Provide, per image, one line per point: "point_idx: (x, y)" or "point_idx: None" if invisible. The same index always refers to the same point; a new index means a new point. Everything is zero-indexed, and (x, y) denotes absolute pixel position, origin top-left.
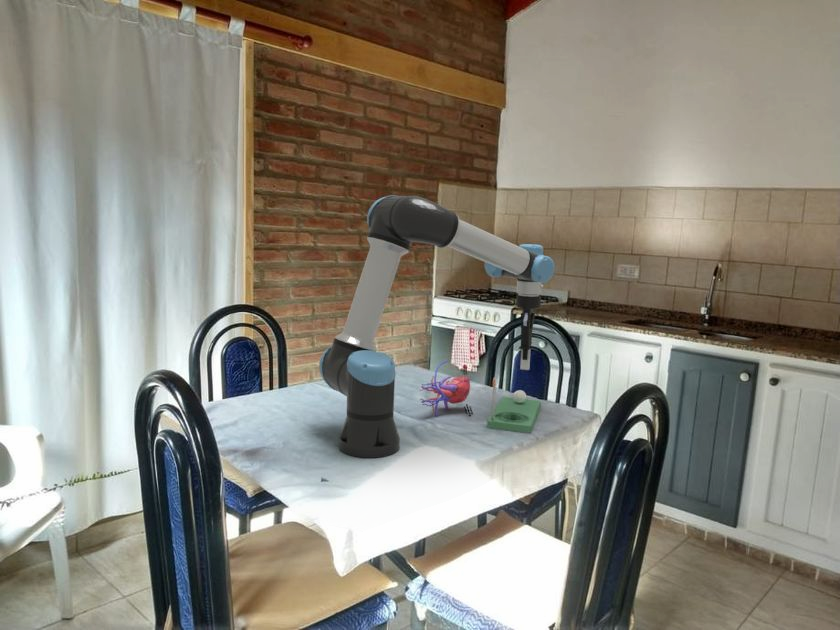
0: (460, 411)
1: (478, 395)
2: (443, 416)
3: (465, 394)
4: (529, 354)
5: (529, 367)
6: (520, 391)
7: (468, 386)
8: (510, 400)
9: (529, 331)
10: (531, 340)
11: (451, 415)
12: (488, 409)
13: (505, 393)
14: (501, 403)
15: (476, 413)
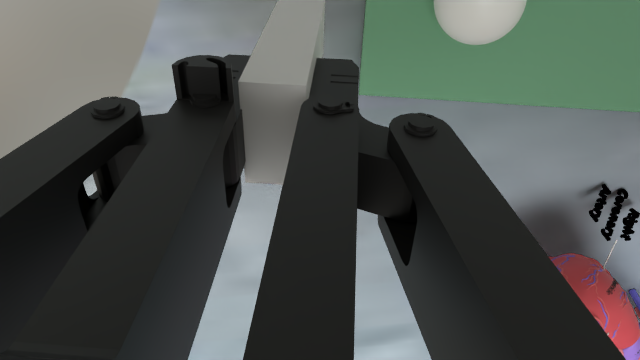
0: (549, 229)
1: (273, 190)
2: (628, 273)
3: (610, 276)
4: (312, 61)
5: (284, 2)
6: (504, 6)
7: (604, 296)
8: (426, 45)
9: (522, 352)
10: (62, 128)
11: (612, 251)
12: (497, 130)
13: (172, 79)
14: (501, 87)
15: (573, 171)
